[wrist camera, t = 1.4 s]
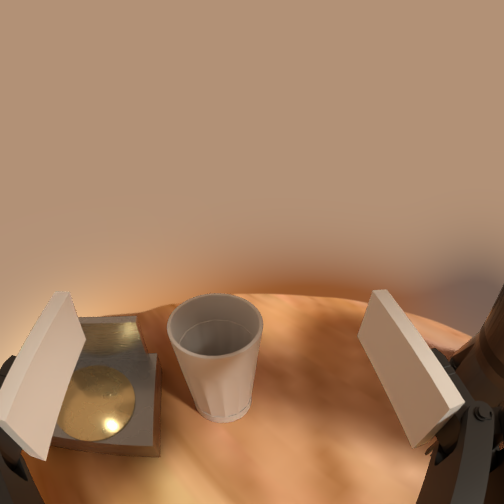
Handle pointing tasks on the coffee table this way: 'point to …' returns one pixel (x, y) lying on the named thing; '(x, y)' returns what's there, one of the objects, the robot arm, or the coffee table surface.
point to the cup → (217, 352)
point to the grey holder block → (112, 392)
